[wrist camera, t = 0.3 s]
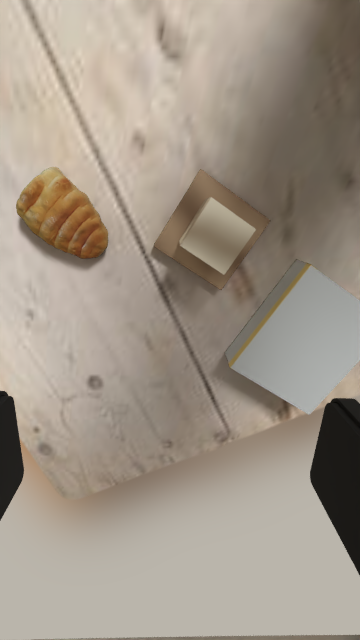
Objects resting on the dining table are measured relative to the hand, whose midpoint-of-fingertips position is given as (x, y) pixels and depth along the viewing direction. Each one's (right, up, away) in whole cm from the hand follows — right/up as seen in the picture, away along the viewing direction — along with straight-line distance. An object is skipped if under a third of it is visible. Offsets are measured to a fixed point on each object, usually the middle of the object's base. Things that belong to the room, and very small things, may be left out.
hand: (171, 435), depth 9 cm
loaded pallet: (+4, +13, +25) cm, 29 cm away
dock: (+15, +2, +29) cm, 33 cm away
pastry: (-12, +15, +25) cm, 31 cm away
